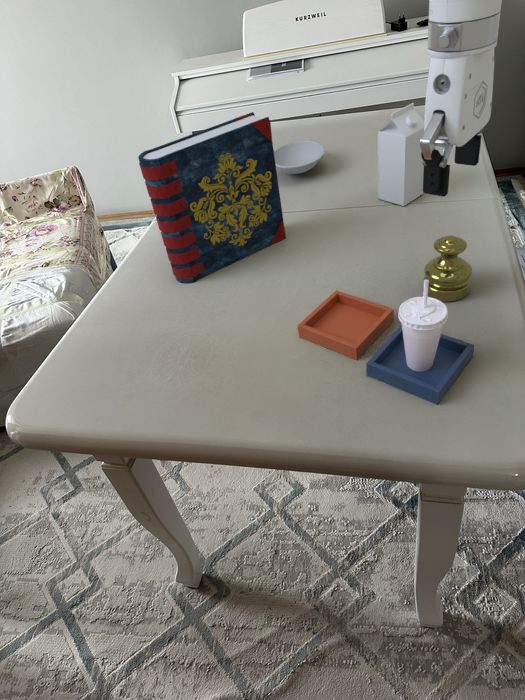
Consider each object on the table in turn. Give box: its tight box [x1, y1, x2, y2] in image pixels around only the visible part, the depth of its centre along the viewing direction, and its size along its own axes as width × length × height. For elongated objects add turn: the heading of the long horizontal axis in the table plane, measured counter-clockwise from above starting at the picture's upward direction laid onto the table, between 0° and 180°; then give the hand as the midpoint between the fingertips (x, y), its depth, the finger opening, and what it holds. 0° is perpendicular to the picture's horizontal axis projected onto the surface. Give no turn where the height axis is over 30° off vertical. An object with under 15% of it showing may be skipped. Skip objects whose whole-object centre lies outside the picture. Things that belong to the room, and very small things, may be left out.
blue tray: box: [365, 324, 475, 405], centre depth 75 cm, size 11×11×2 cm
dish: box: [273, 139, 326, 175], centre depth 134 cm, size 18×14×5 cm
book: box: [137, 111, 287, 284], centre depth 100 cm, size 25×7×25 cm, turn 123°
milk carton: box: [377, 102, 424, 207], centre depth 110 cm, size 7×7×19 cm
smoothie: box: [397, 279, 449, 371], centre depth 71 cm, size 6×6×14 cm
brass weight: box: [423, 235, 473, 303], centre depth 85 cm, size 7×7×10 cm
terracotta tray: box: [297, 289, 395, 361], centre depth 84 cm, size 11×11×2 cm
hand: (451, 178), depth 70 cm, fingers open, 9 cm apart
